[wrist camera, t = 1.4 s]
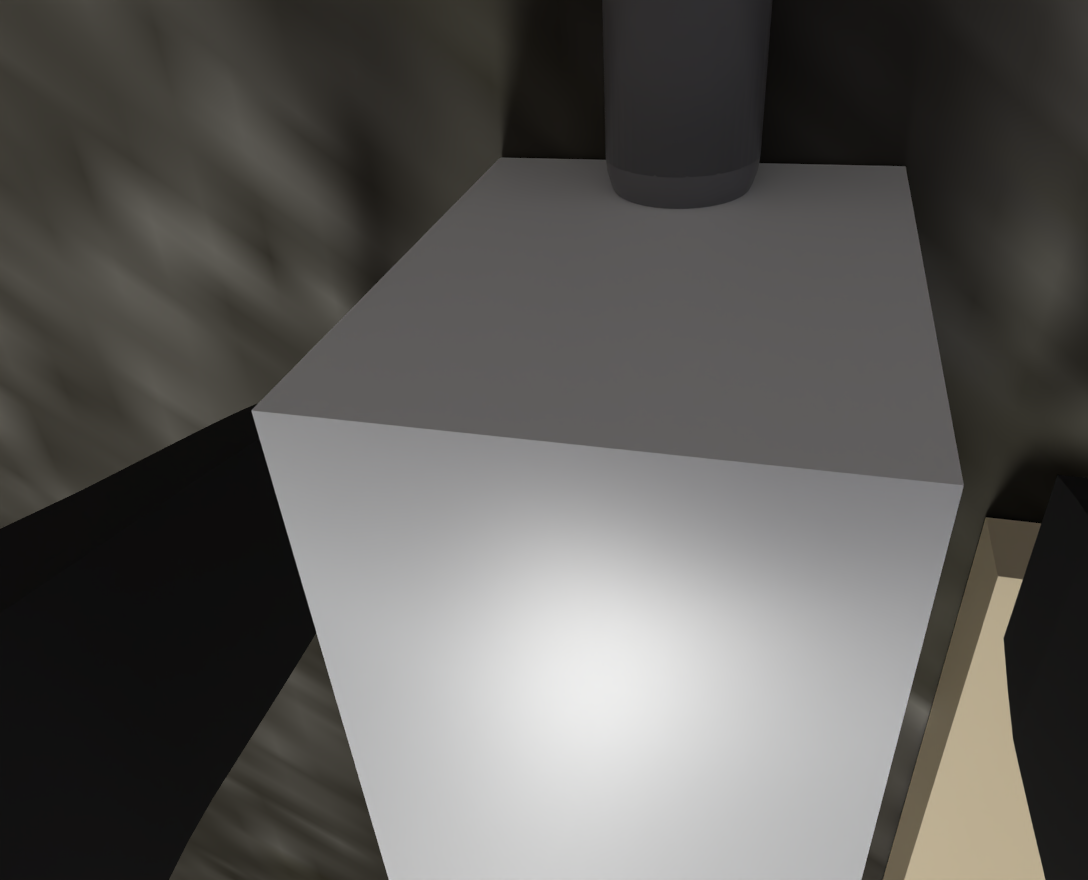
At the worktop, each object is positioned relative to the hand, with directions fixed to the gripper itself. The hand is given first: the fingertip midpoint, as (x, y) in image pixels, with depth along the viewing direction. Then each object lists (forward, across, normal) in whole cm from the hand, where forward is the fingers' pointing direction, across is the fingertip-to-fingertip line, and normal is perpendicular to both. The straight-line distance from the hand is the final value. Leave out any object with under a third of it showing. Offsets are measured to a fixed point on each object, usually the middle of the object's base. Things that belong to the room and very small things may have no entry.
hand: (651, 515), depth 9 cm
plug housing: (+2, 0, -2) cm, 3 cm away
